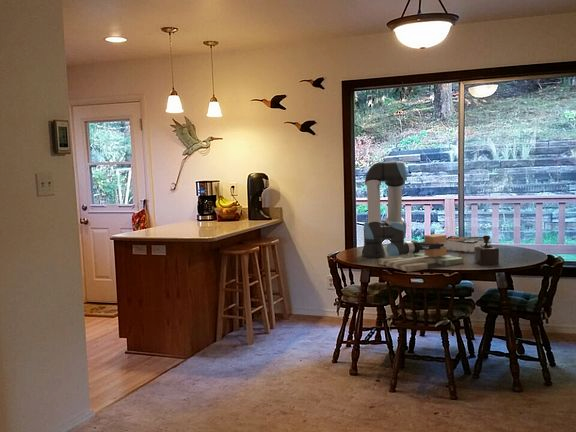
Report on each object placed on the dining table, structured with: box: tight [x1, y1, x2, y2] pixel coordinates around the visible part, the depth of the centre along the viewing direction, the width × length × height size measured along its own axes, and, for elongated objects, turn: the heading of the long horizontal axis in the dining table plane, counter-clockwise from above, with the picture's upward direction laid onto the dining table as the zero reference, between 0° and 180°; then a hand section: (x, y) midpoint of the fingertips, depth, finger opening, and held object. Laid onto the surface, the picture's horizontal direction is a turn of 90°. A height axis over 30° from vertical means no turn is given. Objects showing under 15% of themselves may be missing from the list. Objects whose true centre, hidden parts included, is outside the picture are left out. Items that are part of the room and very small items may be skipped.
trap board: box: [378, 252, 464, 273], centre depth 329 cm, size 28×40×3 cm
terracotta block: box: [423, 233, 448, 257], centre depth 332 cm, size 8×10×12 cm
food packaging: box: [446, 235, 485, 253], centre depth 371 cm, size 25×8×23 cm
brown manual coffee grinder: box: [473, 234, 500, 266], centre depth 318 cm, size 16×11×18 cm
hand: (441, 243), depth 334 cm, fingers closed on terracotta block, 8 cm apart
